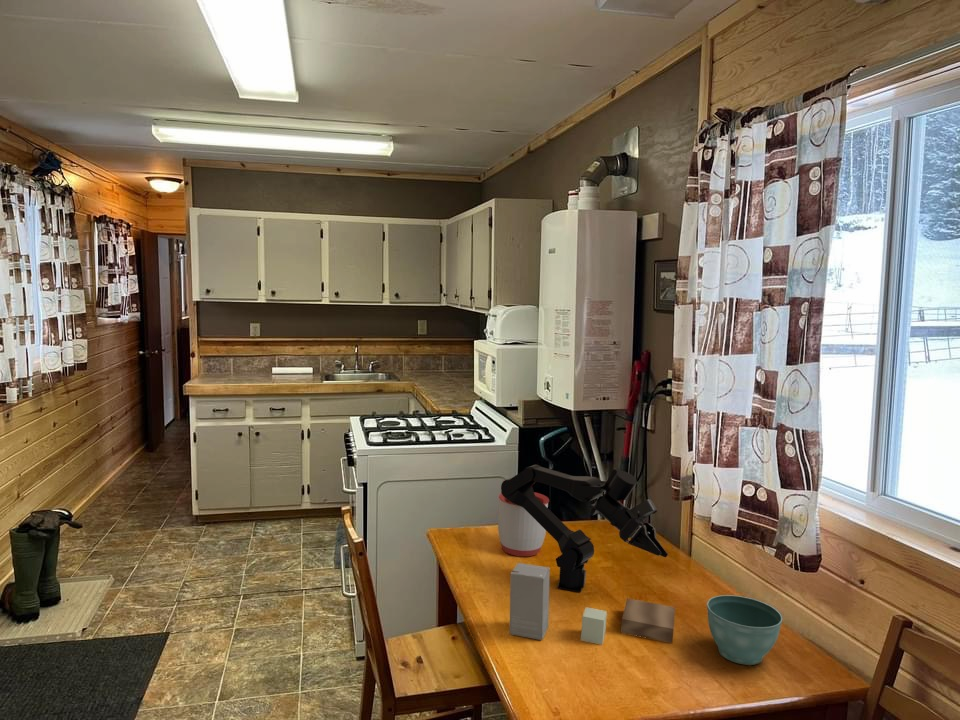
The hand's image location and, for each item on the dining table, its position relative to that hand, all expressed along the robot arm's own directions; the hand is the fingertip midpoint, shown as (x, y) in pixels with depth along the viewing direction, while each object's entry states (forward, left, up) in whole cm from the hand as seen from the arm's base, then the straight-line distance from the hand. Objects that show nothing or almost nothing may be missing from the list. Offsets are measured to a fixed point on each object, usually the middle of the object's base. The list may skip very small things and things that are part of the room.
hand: (663, 555), depth 172 cm
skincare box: (-29, -20, -17) cm, 39 cm away
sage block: (-14, -16, -17) cm, 27 cm away
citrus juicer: (-44, +30, -17) cm, 56 cm away
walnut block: (-2, -5, -17) cm, 18 cm away
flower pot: (+19, -10, -17) cm, 27 cm away
